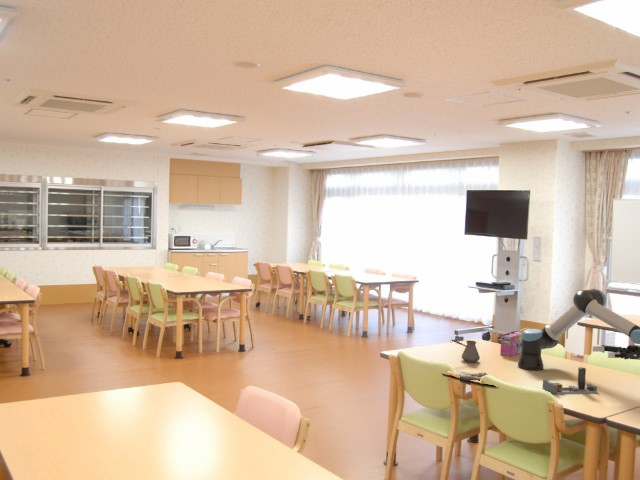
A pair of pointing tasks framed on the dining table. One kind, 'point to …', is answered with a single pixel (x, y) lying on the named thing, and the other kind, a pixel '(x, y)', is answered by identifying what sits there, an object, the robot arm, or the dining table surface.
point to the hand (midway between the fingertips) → (600, 351)
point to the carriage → (580, 381)
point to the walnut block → (558, 386)
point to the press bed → (590, 387)
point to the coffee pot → (469, 352)
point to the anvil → (550, 387)
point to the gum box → (511, 344)
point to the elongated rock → (470, 376)
